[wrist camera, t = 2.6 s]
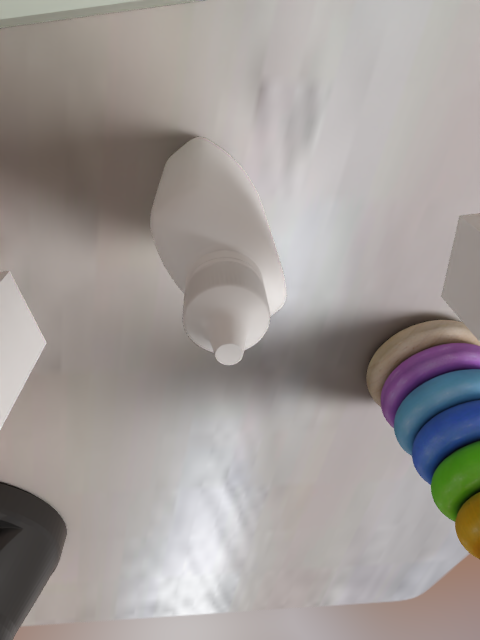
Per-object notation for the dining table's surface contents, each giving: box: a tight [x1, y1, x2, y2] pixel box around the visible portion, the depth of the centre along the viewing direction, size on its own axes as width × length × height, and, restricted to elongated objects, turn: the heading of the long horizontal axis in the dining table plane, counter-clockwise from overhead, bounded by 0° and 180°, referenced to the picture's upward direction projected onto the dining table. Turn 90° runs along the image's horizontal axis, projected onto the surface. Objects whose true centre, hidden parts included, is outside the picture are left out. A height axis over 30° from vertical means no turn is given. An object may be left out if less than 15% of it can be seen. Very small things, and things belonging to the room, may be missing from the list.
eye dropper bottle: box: [150, 137, 287, 365], centre depth 15 cm, size 4×6×12 cm
